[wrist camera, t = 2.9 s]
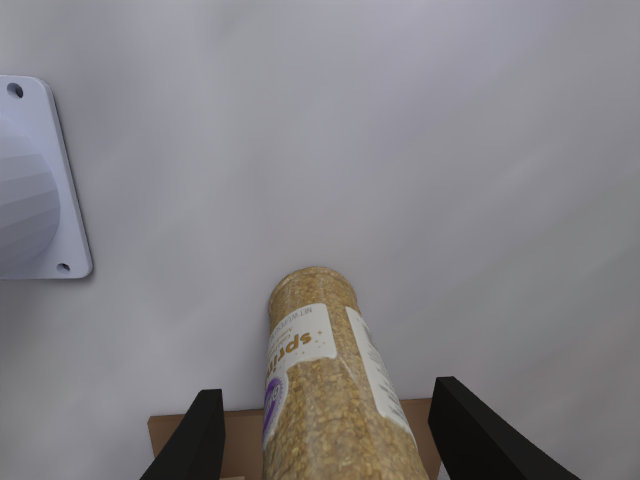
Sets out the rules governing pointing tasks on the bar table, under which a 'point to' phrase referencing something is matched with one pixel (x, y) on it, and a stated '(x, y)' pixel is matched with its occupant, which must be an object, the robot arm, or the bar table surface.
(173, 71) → the bar table surface
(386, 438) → the sprinkles bottle
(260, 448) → the socket block
